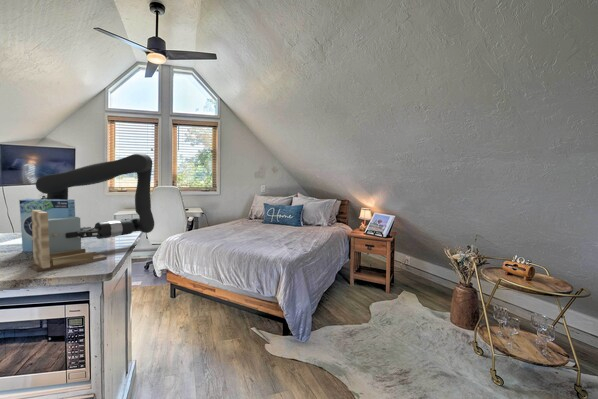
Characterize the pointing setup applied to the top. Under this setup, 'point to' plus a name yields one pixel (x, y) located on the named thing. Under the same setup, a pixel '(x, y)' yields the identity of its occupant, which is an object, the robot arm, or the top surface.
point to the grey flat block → (63, 234)
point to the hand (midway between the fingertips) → (64, 234)
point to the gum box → (51, 206)
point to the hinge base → (55, 260)
